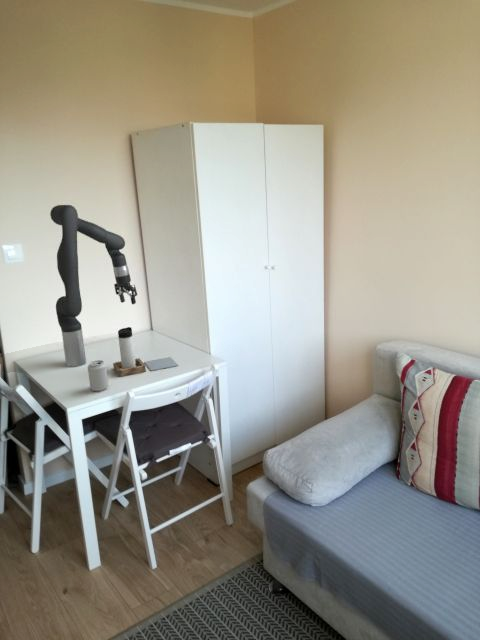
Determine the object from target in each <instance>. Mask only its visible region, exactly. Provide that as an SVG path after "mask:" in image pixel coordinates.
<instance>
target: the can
mask: <svg viewBox="0 0 480 640" xmlns="http://www.w3.org/2000/svg"><path fill="white" fill-rule="evenodd" d="M87 374H88V380H89V387H90V390H92V391H94V392H103V391H105V390H106V389H108V387H109V385H110V384H109V379H108V371H107V364H106V363H105V361H104V360H103V359H97V360H96V359H95V360H92V361H90V362H89V363H88V365H87Z"/></svg>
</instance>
